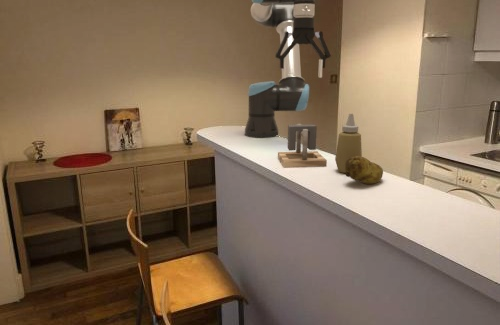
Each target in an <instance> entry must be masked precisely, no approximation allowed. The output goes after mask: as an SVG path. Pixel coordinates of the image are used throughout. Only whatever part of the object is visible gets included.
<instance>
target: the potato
mask: <svg viewBox="0 0 500 325" xmlns="http://www.w3.org/2000/svg"><path fill="white" fill-rule="evenodd" d="M345 171H346V173H345V176H346V177H348V178H350V179H352V180H353V181H356V182H360V183H363V184H364V185H365V184H366V185H372V184H376V183H378V182H380V181H381V180H382V178H383V175H384V169H383V168H382V167H381V166H380V165H379V164H377V163H374V162H371V161H370V160H369V159H368V158H366V157H363V156H362V157H360V156H354V157H351V158H349V159H348V160H347V161H346V163H345Z"/></svg>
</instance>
